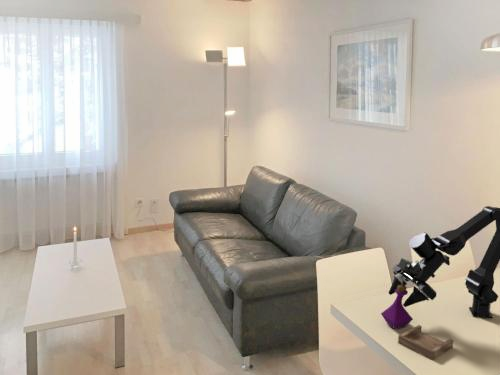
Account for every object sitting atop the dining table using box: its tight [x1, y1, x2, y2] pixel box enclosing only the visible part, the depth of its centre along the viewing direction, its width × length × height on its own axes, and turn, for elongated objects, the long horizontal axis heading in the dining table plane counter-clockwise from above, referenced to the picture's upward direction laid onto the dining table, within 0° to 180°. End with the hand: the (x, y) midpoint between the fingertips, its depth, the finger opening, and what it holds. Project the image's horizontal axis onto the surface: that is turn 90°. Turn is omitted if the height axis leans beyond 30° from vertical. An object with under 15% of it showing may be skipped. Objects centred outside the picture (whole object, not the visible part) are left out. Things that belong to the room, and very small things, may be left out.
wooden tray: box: [397, 324, 454, 361], centre depth 152 cm, size 11×12×2 cm
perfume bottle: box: [380, 274, 414, 330], centre depth 163 cm, size 8×8×18 cm
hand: (396, 299), depth 162 cm, fingers open, 9 cm apart
